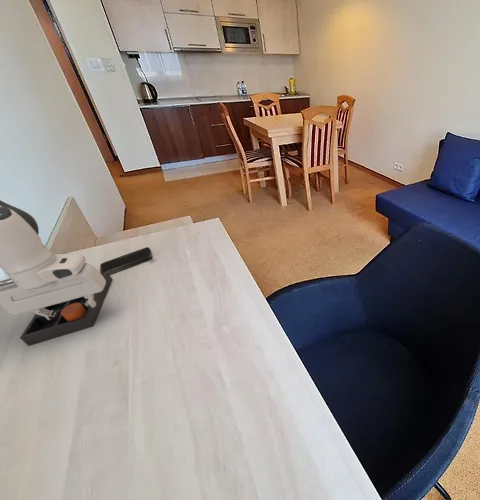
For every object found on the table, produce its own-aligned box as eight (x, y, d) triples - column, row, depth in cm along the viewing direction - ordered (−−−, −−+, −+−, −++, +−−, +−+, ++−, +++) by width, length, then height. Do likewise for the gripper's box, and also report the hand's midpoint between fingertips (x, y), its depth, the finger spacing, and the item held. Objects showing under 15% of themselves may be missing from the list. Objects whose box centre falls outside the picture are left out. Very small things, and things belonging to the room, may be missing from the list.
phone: (151, 256, 103) (100, 274, 97) (152, 258, 104) (102, 277, 98) (148, 246, 109) (100, 263, 102) (150, 248, 110) (102, 265, 103)
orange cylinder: (67, 327, 79) (57, 317, 77) (73, 316, 83) (64, 305, 80) (86, 321, 80) (77, 311, 78) (91, 310, 84) (83, 300, 81)
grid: (28, 345, 76) (19, 338, 74) (60, 293, 93) (53, 286, 91) (93, 326, 80) (86, 318, 78) (112, 279, 96) (107, 271, 95)
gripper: (-25, 293, 67) (20, 334, 75) (82, 266, 72) (113, 307, 80) (-9, 277, 72) (31, 317, 80) (90, 252, 77) (118, 292, 85)
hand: (73, 312), depth 80 cm, fingers open, 7 cm apart
